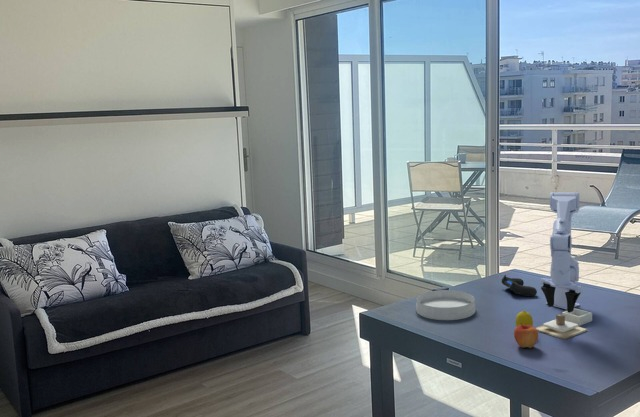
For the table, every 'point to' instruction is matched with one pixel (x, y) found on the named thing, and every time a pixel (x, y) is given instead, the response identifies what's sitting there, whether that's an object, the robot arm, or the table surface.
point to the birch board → (559, 334)
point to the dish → (445, 305)
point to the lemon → (524, 319)
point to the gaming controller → (519, 286)
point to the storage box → (578, 316)
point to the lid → (560, 324)
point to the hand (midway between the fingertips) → (560, 308)
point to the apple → (526, 335)
